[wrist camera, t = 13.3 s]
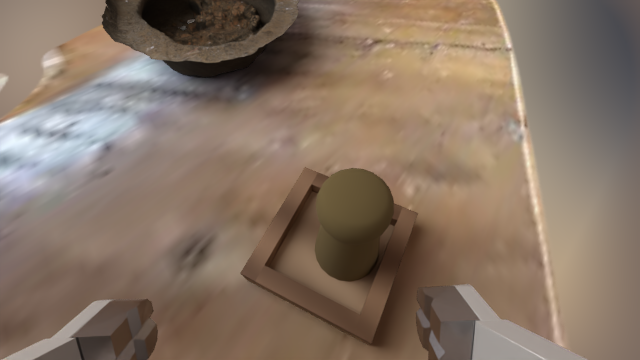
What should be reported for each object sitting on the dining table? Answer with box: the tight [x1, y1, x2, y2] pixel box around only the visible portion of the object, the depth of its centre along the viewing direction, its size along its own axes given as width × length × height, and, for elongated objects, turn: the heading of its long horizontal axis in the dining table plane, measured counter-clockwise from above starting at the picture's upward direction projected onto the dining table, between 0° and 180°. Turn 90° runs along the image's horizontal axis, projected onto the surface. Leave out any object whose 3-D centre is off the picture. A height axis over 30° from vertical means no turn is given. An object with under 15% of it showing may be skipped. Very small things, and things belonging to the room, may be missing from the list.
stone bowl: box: [102, 0, 299, 77], centre depth 43 cm, size 25×25×9 cm
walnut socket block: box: [240, 167, 418, 345], centre depth 28 cm, size 12×12×2 cm
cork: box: [315, 168, 394, 282], centre depth 24 cm, size 6×6×11 cm
